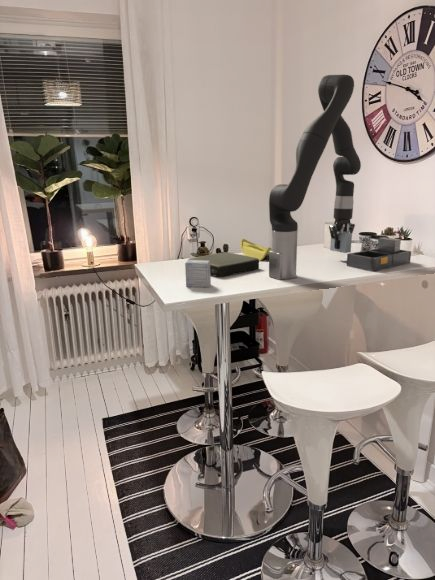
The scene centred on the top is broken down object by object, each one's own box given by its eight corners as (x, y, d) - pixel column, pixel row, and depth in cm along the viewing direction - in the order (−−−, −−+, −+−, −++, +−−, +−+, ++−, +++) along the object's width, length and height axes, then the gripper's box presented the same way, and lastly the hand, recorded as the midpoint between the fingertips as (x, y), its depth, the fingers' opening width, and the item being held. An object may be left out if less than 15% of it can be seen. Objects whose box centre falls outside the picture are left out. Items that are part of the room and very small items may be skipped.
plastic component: (281, 253, 190) (267, 245, 184) (275, 268, 190) (260, 261, 184) (254, 244, 205) (239, 237, 199) (248, 258, 206) (233, 251, 199)
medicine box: (211, 284, 149) (210, 260, 147) (208, 288, 145) (207, 263, 142) (189, 283, 151) (188, 259, 148) (185, 287, 146) (184, 262, 144)
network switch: (263, 268, 172) (263, 256, 171) (225, 280, 156) (225, 267, 154) (220, 261, 188) (220, 250, 186) (182, 271, 171) (181, 259, 170)
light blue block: (344, 253, 176) (346, 233, 174) (330, 250, 182) (331, 231, 180) (350, 252, 178) (352, 233, 176) (335, 249, 184) (337, 231, 182)
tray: (373, 271, 162) (375, 245, 160) (346, 265, 173) (348, 241, 170) (410, 263, 175) (413, 239, 172) (383, 258, 185) (385, 235, 182)
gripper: (339, 208, 168) (335, 251, 173) (362, 207, 176) (358, 248, 180) (324, 207, 174) (322, 248, 179) (347, 205, 182) (344, 245, 186)
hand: (340, 248), depth 180 cm, fingers closed on light blue block, 3 cm apart
